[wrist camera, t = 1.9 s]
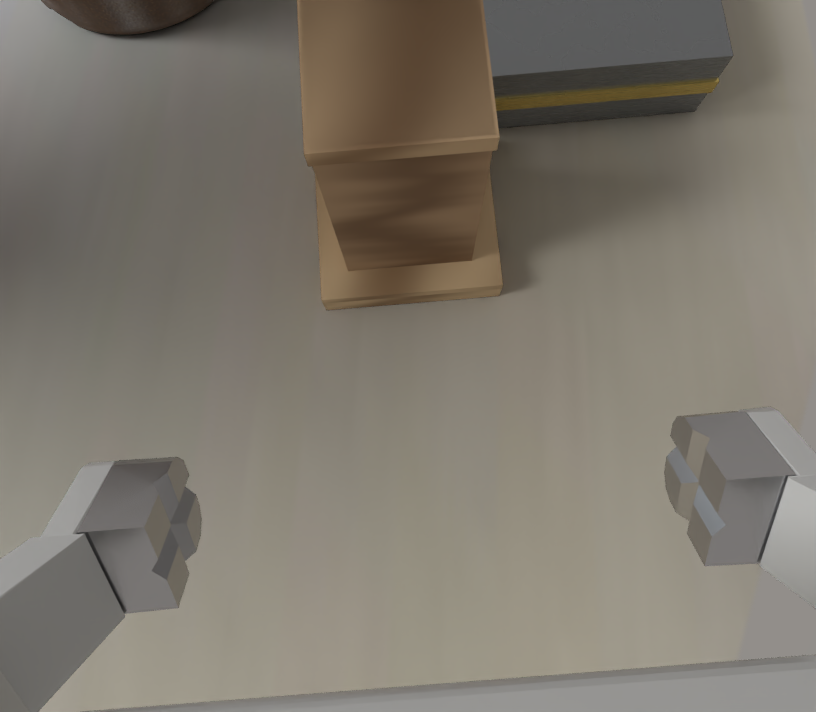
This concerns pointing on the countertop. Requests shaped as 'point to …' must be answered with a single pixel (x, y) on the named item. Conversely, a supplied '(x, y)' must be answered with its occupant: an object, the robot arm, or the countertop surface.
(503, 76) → the dock
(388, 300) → the pallet
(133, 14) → the plant pot
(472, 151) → the crate
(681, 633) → the countertop surface
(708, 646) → the countertop surface
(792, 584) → the robot arm
